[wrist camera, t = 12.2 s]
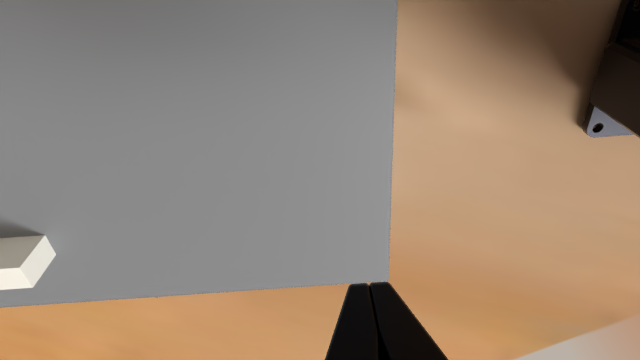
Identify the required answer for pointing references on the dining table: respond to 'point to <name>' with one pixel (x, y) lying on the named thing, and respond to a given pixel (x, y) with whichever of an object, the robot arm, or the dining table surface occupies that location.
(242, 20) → the platform
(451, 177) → the dining table surface
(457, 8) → the dining table surface
